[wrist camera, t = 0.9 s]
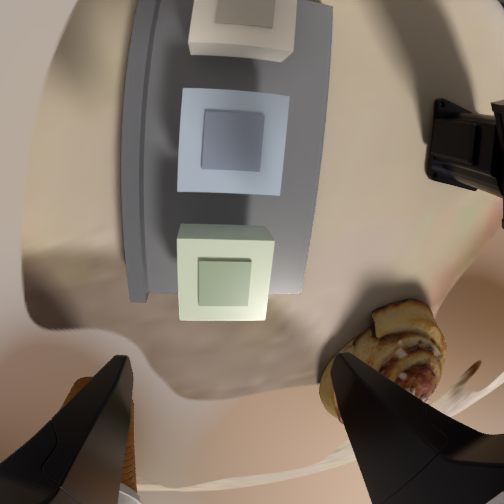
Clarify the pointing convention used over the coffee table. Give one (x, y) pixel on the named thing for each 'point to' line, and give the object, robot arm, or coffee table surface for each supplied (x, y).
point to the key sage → (223, 272)
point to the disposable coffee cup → (128, 489)
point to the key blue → (231, 141)
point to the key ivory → (243, 28)
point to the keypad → (167, 143)
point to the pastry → (397, 351)
